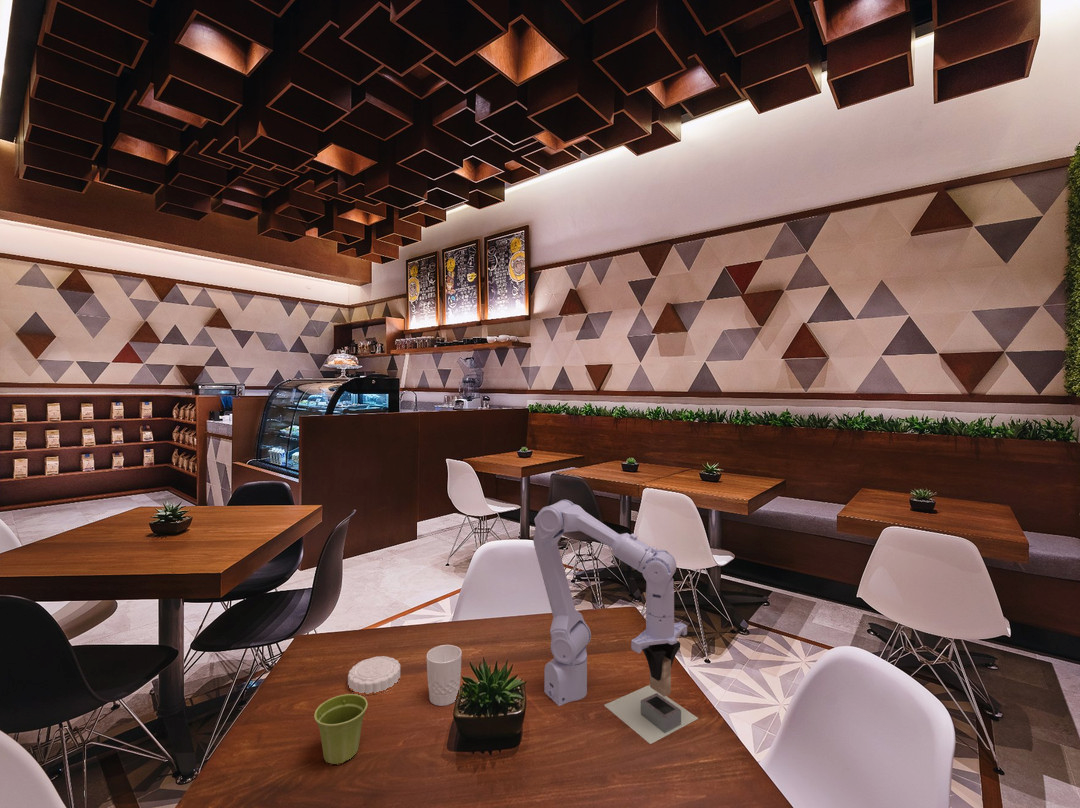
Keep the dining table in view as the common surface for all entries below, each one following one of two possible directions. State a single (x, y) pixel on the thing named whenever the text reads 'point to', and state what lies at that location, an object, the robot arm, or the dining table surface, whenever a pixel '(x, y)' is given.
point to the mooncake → (374, 674)
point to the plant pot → (340, 726)
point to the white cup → (444, 674)
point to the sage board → (631, 715)
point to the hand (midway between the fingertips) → (660, 676)
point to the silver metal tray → (661, 712)
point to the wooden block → (663, 679)
